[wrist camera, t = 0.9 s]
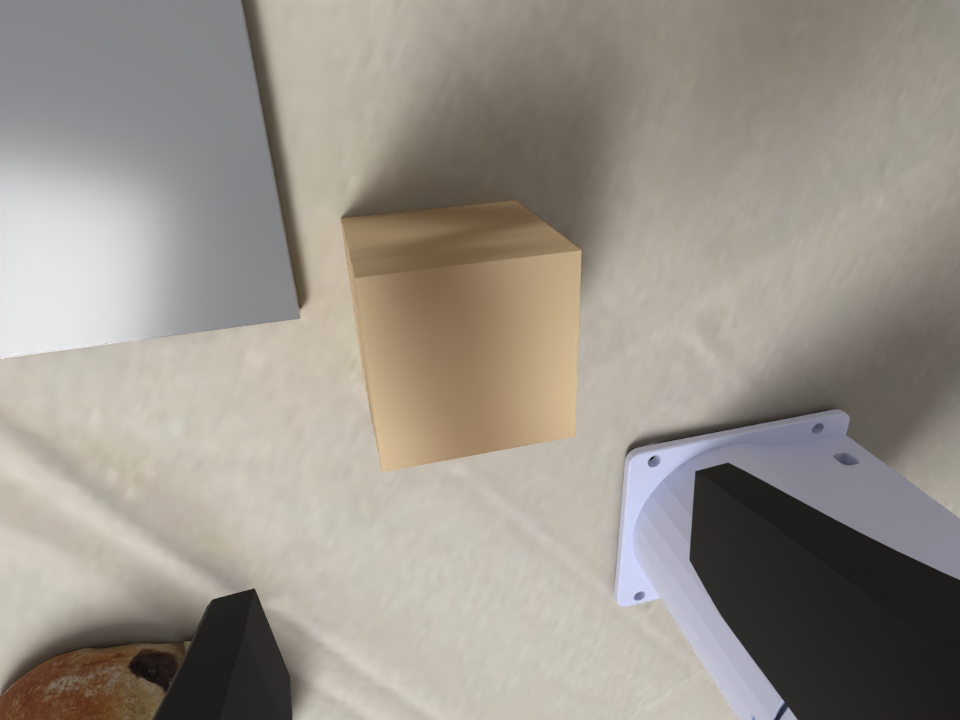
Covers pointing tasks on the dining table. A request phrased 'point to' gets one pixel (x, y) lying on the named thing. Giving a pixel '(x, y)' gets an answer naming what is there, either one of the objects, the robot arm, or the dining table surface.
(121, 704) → the bread roll
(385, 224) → the oak block
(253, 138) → the slate coaster
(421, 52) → the dining table surface
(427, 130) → the dining table surface
